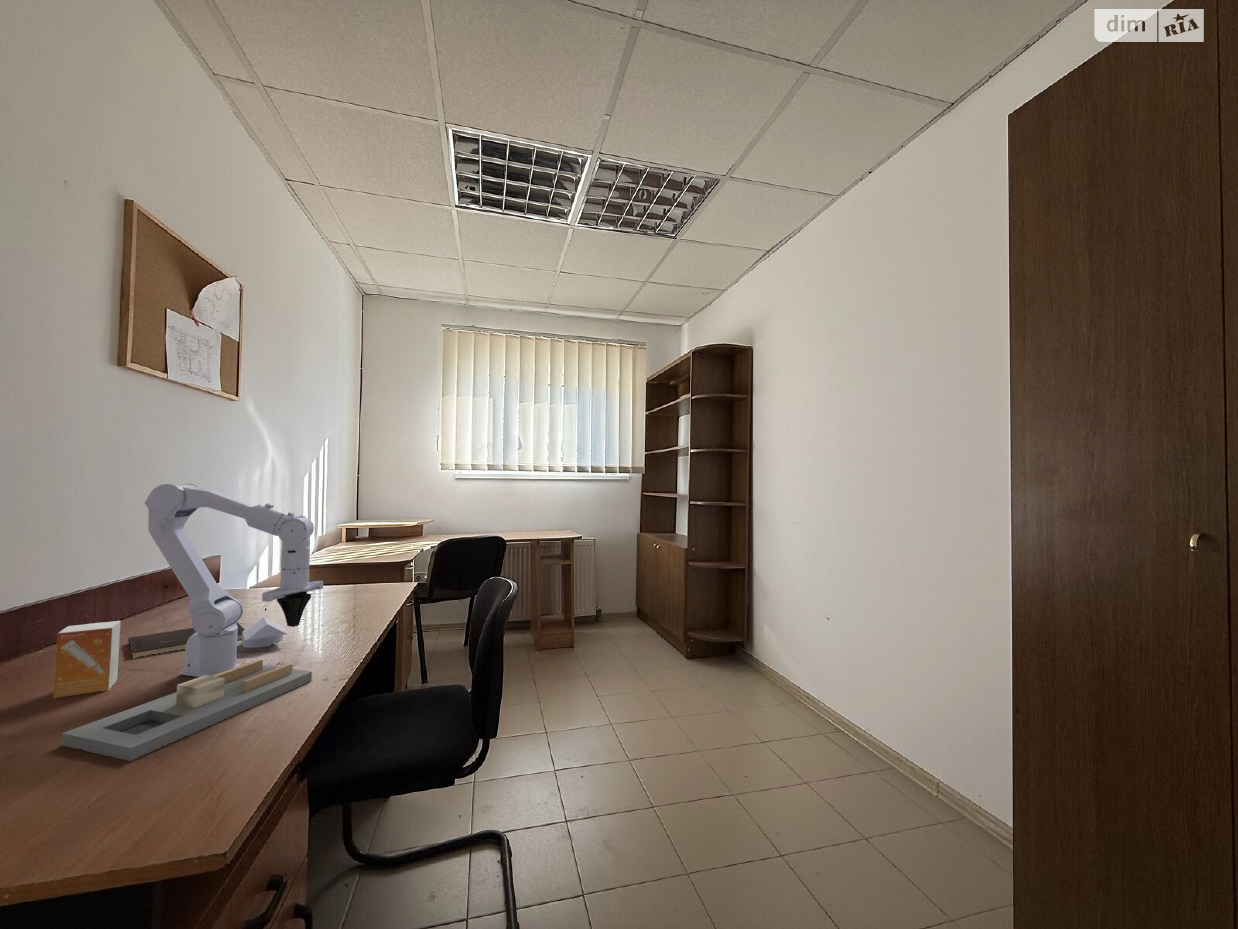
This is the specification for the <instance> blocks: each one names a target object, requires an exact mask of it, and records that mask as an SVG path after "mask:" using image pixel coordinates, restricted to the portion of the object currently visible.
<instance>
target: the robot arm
mask: <svg viewBox="0 0 1238 929" xmlns="http://www.w3.org/2000/svg"><path fill="white" fill-rule="evenodd" d="M144 505H145V506H146V507H147V509H148V523H147V524H148V525H147V526H148V527H147V528H148V529H147V530H148V533H149V535H150V536H151V538H152V539H153V541H154V542H155V545H156V546H157V547H158V549H159V550H160V552H161V554H162V555H163V557H164V559H165V560H166V563H167V564H168V565H169V567H170V568H171V570H172V572H173V573H174V575H175V576H176V578H177V580H178V582H180V584H181V586H182V588H183V590H184V591H185V593H186V594H187V596H188V598H189V599H190V602H189V606H188V608H187V610H188V613H189V614H190V617H191V626H192V627H191V628H193V629H194V630H195V631H196V633H194V634H193V635H192V636H191V637H190V638H189V639H188V641H187V643H186V649H185V654H184V657H185V658H184V670H183V671H180V675H183V676H189V677H190V676H191V677H195V678H199V677H202V676H204V675H207V676H213V675H216V674H219V673H222V672H224V671H227V670H230V669H233V668H236V667H239V666H241V665H244V664H245V663H244V664H243V663H237V653H238V651H237V650H238V649H237V648H238V640H237V631H238V630H237V629H238V626H237V622H238V621H239V620H241V618H242V617H243V614H244V607H243V604H242V603H241V602H240V601H239V600H238V599H236V598H234V597H233V596H232V595H231V594H230V592H229V591H228V590H226V589H224V588H222V587H220V586H219V585H218V582H216V580H215V578H214V577H213V575H212V573H211V572H210V570H209V568H208V567H207V565H206V564H205V562H204V560H203V558H202V556H200V554H199V552H198V550H197V549H196V547H195V545H194V543H192V540H191V538H190V537H189V536H188V534H187V532H186V530H185V529H184V526H185V525H186V523H187V521H188V520H189V519H190V518H189V517H191V516H192V515H193V513H195V512H196V511H197V510H198V509H199V508H200V509H201V508H208V509H209V508H210V509H212V510H215V511H218V512H221V513H225V514H229V515H232V516H234V517H237V518H241V519H244V520H245V522H246V524H247V526H248V527H249V528H253V529H256V530H258V531H261V532H263V533H268V534H269V535H273V536H276V537H278V538H279V539H280V541H281V553H280V554H281V556H280V558H281V559H280V560H281V561H280V579H279V580H280V581H279V582H280V583H279V584H280V585H279V587H277V588H274V589H271V590H268V591H264V592H262V593H261V601H262V602H266V603H269V602H272V601H276V602H277V603H278V604H279V606H280V607H281V610H282V612H283V614H284V618H285V621H286V626H287V627H290V628H291V627H292V628H295V627H298V626H300V622H301V619H302V616H303V613H304V611H305V608H306V607H307V605H308V603H309V601H310V600H311V598H312V593H309V592H313V591H316V590H319V591H320V590H324V581H323V580H316V581H315V580H314V581H310V562H311V560H310V559H311V546H310V545H311V542H310V541H311V536H312V535H313V534H314V533H313V532H314V530H315V527H314V523H313V522H312V520H310V519H309V518H308V517H306V516H304V515H299V516H295V513H294V512H292V511H288V512H285V511H283V510H280V509H278V508H275V507H274V506H275V505H274V504H271V503H266V504H263V503H259V504H256V505H251V504H249V503H245V502H243V501H241V500H239V499H236V498H234V497H230V496H229V495H226V494H225V493H221V492H219V491H216V490H214V489H211V488H209V487H205V486H199V485H197V484H193V483H184V484H171V483H164V484H160V485H157V486H155V487H154V488H153V489H152V490H151V491H150V493H149V495H148V497H147V498H146V500H145V502H144Z"/></svg>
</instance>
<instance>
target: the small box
mask: <svg viewBox="0 0 1238 929" xmlns="http://www.w3.org/2000/svg"><path fill="white" fill-rule="evenodd" d="M120 637H121V620H115V621H114V620H113V621H107V622H103V621H102V622H94V623H86V624H85V623H83V624H78V625H77V624H76V625H68V626H66V627H65V628H63V629H62V630H60V631H59V632H57V639H56V651H55V662H54V663H55V664H54V665H55V666H54V678H53V679H54V680H53V697H52V698H53V699H58V698H64V697H70V696H77V695H84V694H93V693H98V692H99V691H100V692H107V691H109V690H110V689H112V687H113V686H114V684H116V682H117V681H118V674H119V672H118V670H119V654H120ZM112 685H113V686H112Z"/></svg>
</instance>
